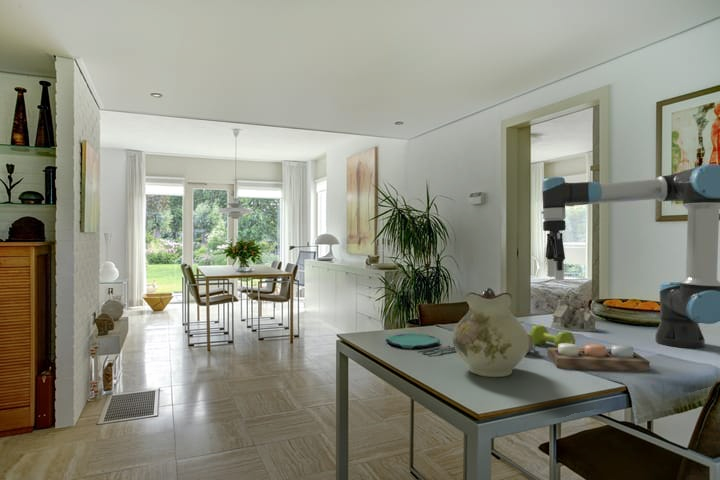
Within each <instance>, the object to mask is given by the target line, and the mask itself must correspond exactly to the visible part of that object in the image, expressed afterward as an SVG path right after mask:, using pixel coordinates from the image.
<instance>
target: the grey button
mask: <svg viewBox="0 0 720 480" xmlns="http://www.w3.org/2000/svg"><path fill="white" fill-rule="evenodd" d="M610 349H611V353H612V356H613V357H618V358H633V352H634V347H633V346H631V345H630V346H629V345H625V344H613V345H611V347H610Z"/></svg>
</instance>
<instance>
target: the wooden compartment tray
mask: <svg viewBox="0 0 720 480" xmlns="http://www.w3.org/2000/svg"><path fill="white" fill-rule="evenodd" d="M546 349H547V353H546V354H547V357H548V359H549V360H550V361H551V362H552V363H553V365H554V366H555V367H556V368H557V369H579V370H602V371H603V370H604V371H625V370H651V369H650V362H651V361H650V360H648V359H646V358H644V357H643V356H641V355H640V354H638V353H636V352H635V351H633V358H618V357H613V356H612V353H611V348H610V349H609V348H608V349H606V357H589V356H585V348H579V356H560V355H559V354H558V348H556V347H547V348H546Z"/></svg>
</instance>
